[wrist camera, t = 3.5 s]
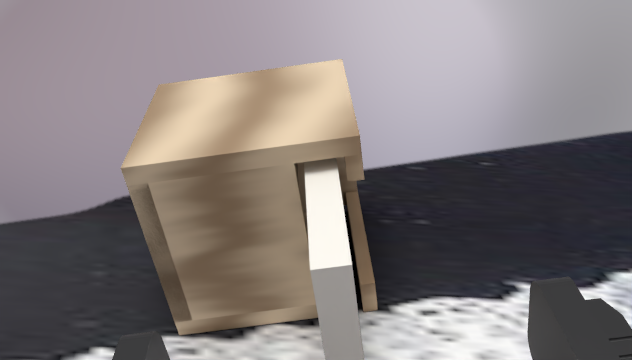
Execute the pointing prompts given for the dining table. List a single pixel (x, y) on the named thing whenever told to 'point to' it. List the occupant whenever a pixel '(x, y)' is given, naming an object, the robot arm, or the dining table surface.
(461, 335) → the dining table surface
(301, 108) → the box
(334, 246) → the cover plate
